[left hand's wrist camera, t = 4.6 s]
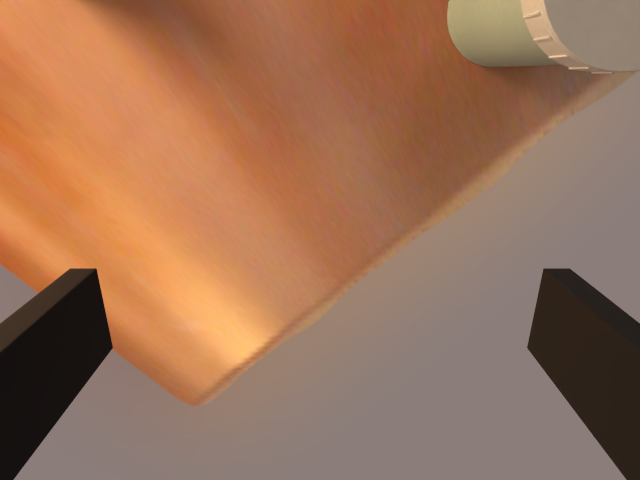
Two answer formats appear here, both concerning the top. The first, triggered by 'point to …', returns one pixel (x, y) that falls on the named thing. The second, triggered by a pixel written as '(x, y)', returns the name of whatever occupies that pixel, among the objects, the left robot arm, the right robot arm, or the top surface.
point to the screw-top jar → (493, 33)
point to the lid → (587, 33)
